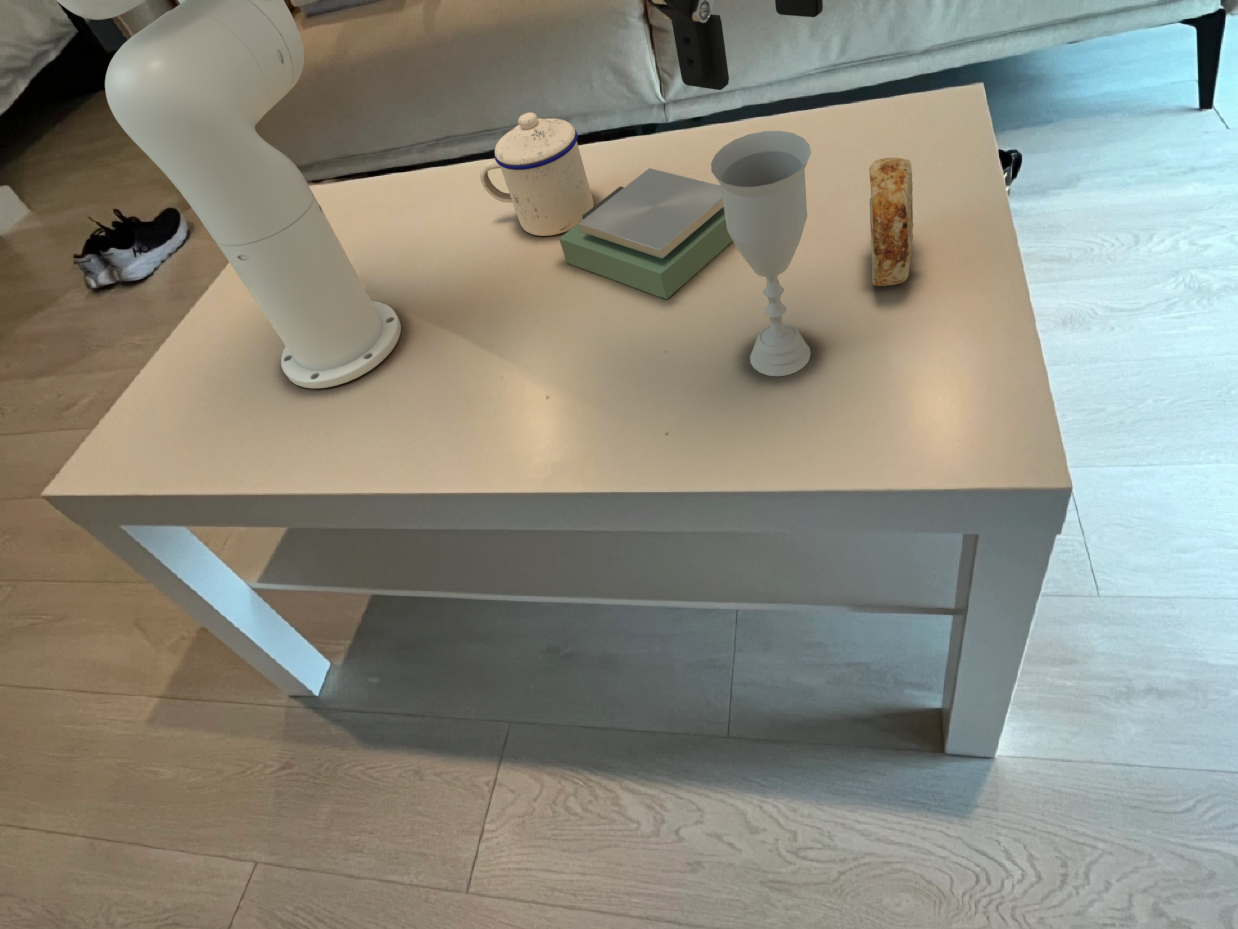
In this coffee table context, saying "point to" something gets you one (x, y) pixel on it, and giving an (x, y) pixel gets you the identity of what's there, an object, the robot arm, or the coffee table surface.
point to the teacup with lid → (541, 175)
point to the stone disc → (891, 220)
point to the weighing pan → (654, 212)
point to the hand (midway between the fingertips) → (754, 48)
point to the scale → (647, 256)
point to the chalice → (767, 229)
